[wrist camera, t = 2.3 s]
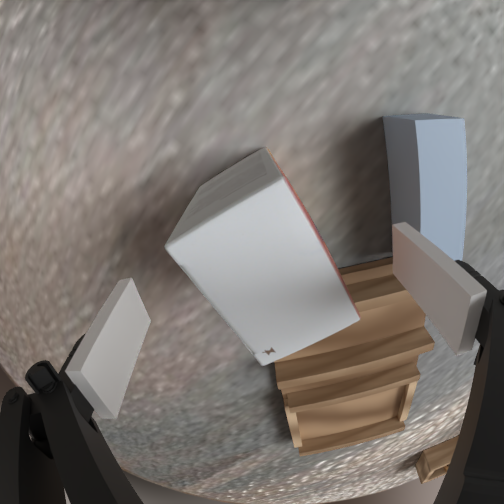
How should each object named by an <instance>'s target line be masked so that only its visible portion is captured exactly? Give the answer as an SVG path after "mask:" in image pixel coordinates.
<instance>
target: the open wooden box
mask: <svg viewBox="0 0 504 504" xmlns="http://www.w3.org/2000/svg"><path fill="white" fill-rule="evenodd" d="M458 438H459V435H458V436H456V437H454V438H452V439H450V440H447V441H445V442H443V443H440V444H438V445H436V446H433V447H431V448H428V449H426V450H423V452H422V454H421V456H420V458H419V460H418V461H417V463H416V465H415V467H416V470H417V473H418V476H419V479H420V481H421V484H423V483H425V482H428V481H431V480H433V479H435V478H438V477H440V476H442V475H445V474H446V472H445V470H444V468H443V467H444V466H446V465H448V464H450V462H451V459H452V456H453V453H454V450H455V447H456V444H457V441H458Z"/></svg>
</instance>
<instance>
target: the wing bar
mask: <svg viewBox="0 0 504 504" xmlns="http://www.w3.org/2000/svg"><path fill="white" fill-rule="evenodd" d="M382 118H383V125H384V132H385V140H386V149H387V159H388V169H389V182H390V197H391V218H392V224H397V223H402V222H406V223H408V224H409V225H410V226H412V227H413V228H414V229H415V230H417V231H418V232H419V233H421V234H422V235H423V236H424V237H426V238H427V239H428V240H429V241H431V242H432V243H433V244H434V245H436V246H437V247H438V248H439V249H441V250H442V251H443V252H444V253H445V254H447V255H448V256H449V257H450V258H451V259H453V260H454V261H455V260H460V261H462V256H463V247H464V236H465V223H466V204H467V153H466V135H465V122H464V118H458V117H451V116H443V115H435V114H408V115H393V116H382ZM392 252H393V232H392Z"/></svg>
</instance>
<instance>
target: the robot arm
mask: <svg viewBox="0 0 504 504" xmlns="http://www.w3.org/2000/svg"><path fill="white" fill-rule="evenodd" d="M392 232H393V274H394V275H395V277H396V278H397V279H398V280H399V281H400V283H401V284H402V285H403V286H404V287H405V289H406V290H407V291H408V292H409V294H410V295H411V296H412V297H413V299H414V300H415V301H416V302H417V304H418V305H419V306H420V308H421V309H422V310H423V311H424V313H425V314H426V315H427V317H428V318H429V319H430V321H431V322H432V323H433V325H434V326H435V327H436V329H437V330H438V331H439V333H440V334H441V335H442V337H443V338H444V339H445V341H446V342H447V343H448V345H449V346H450V348H451V349H452V350H453V352H454V353H455V355H456V356H459V355H461V354H463V353H466V352H468V351H470V350H472V347H473V344H474V341H475V338H476V339H477V340H478V342H479V343H480V347H479V350H478V353H477V356H476V359H475V361H474V364H473V365H476V367H475V373H474V378H473V383H472V388H471V392H470V397H469V401H468V405H467V409H466V413H465V417H464V421H463V424H462V428H461V431H460V435H459V438H458V441H457V444H456V447H455V450H454V453H453V456H452V459H451V462H450V465H449V467H448V470H447V473H446V475H445V478H444V480H443V483H442V485H441V488H440V490H439V492H438V495H437V497H436V499H435V501H434V504H504V290H500V291H499V290H497V289H496V288H495V287H494V286H493V285H492V284H491V283H490V282H488V281H487V280H486V279H485V278H484V277H483V276H481V274H479V273H478V272H477V271H475V269H473V268H472V267H471V266H470V265H469V264H467V263H465V262H463V261H460V260H455V261H454V260H453V259H451V258H450V257H449V256H448V255H447V254H445V253H444V252H443V251H442V250H441V249H439V248H438V247H437V246H436V245H434V244H433V243H432V242H431V241H429V240H428V239H427V238H426V237H424V236H423V235H422V234H421V233H419V232H418V231H417V230H415V229H414V228H413V227H412V226H410V225H409V224H408V223H406V222H402V223H397V224H392ZM150 322H151V320H150V318H149V316H148V314H147V311H146V309H145V307H144V305H143V302H142V300H141V298H140V295H139V293H138V291H137V288H136V286H135V284H134V281H133V279H132V278H127V279H122V280H119V281H118V283H117V284H116V286H115V287H114V289H113V290H112V292H111V294H110V295H109V297H108V298H107V300H106V302H105V303H104V305H103V306H102V308H101V310H100V311H99V313H98V314H97V316H96V318H95V319H94V321H93V323H92V324H91V326H90V328H89V329H88V331H87V333H86V334H84V335H83V336H82V337H81V338H80V339H79V340H78V341H77V342H76V344H75V345H74V347H73V349H72V351H71V352H70V354H69V357H67V359H66V361H65V363H64V365H63V366H62V368H61V370H60V372H59V374H58V373H57V372H56V371H55V369H54V368H53V366H52V365H51V363H50V362H49V361H46V360H44V361H40V362H38V363H36V364H34V365H33V366H32V367H31V368H30V369H29V370H28V371H27V373H26V376H25V380H26V381H27V382H28V384H29V385H30V386H31V388H32V389H33V390H34V391H35V393H33V394H29V395H27V393H26V392H25V391H24V390H23V388H22V387H15V388H13V389H10V390H9V391H8V392H7V393H6V395H5V396H4V398H3V401H2V406H1V412H0V504H66V499H65V492H64V488H65V491H66V493H67V495H68V498H69V500H70V503H71V504H143V502H142V501H141V499H140V498H139V496H138V495H137V493H136V492H135V490H134V489H133V487H132V486H131V484H130V482H129V481H128V479H127V478H126V476H125V474H124V473H123V471H122V469H121V468H120V466H119V464H118V463H117V461H116V459H115V457H114V456H113V454H112V452H111V450H110V448H109V447H108V445H107V443H106V441H105V439H104V437H103V435H102V433H101V431H100V429H99V427H98V425H97V423H96V421H95V420H94V419H93V418H92V417H91V416H92V413H93V411H94V410H95V411H96V413H97V414H98V415H99V416H100V417H101V418H103V419H117V416H118V413H119V410H120V407H121V404H122V401H123V398H124V395H125V392H126V389H127V386H128V383H129V380H130V377H131V374H132V371H133V368H134V366H135V363H136V360H137V357H138V354H139V352H140V349H141V346H142V343H143V341H144V338H145V335H146V333H147V330H148V327H149V325H150ZM29 435H30V436H31V437H32V438H31V439H32V440H31V439H30V437H29Z"/></svg>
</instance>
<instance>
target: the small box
mask: <svg viewBox="0 0 504 504" xmlns="http://www.w3.org/2000/svg"><path fill="white" fill-rule="evenodd" d="M165 250H166V251H167V252H168V254H169V255H170V256H171V257H172V258H173V259H174V260H175V262H176V263H177V264H178V265H179V266H180V267H181V268H182V270H183V271H184V272H185V273H186V274H187V276H188V277H189V278H190V279H191V280H192V282H193V283H194V284H195V285H196V287H197V288H198V289H199V290H200V292H201V293H202V294H203V295H204V296H205V298H206V299H207V300H208V301H209V302H210V304H211V305H212V306H213V307H214V308H215V310H216V311H217V312H218V313H219V314H220V316H221V317H222V318H223V319H224V320H225V322H226V323H227V324H228V325H229V326H230V328H231V329H232V330H233V331H234V332H235V333H236V335H237V336H238V337H239V338H240V339H241V341H242V342H243V343H244V344H245V346H246V347H247V348H248V349H249V350H250V352H251V353H252V355H253V356H254V357H255V358H256V360H257V361H258V362H259V364H260V365H261V366H264V365H267V364H269V363H272V362H274V361H276V360H279V359H281V358H283V357H286V356H288V355H290V354H292V353H295V352H297V351H299V350H301V349H303V348H305V347H307V346H310V345H312V344H314V343H316V342H318V341H320V340H322V339H324V338H326V337H328V336H330V335H332V334H334V333H336V332H338V331H340V330H342V329H344V328H346V327H348V326H350V325H351V324H353V323H355V322H357V321H359V320H360V319H361V316H360V314H359V312H358V310H357V307H356V305H355V303H354V301H353V299H352V297H351V295H350V292H349V290H348V288H347V286H346V284H345V282H344V280H343V278H342V276H341V274H340V272H339V270H338V268H337V266H336V264H335V262H334V260H333V258H332V256H331V254H330V252H329V250H328V248H327V246H326V244H325V242H324V241H323V239H322V237H321V235H320V233H319V231H318V230H317V228H316V226H315V224H314V222H313V221H312V219H311V217H310V215H309V214H308V212H307V210H306V209H305V207H304V205H303V204H302V202H301V200H300V199H299V197H298V195H297V194H296V192H295V191H294V189H293V187H292V186H291V184H290V183H289V181H288V180H287V178H286V176H285V175H284V173H283V172H282V170H281V169H280V167H279V166H278V164H277V163H276V161H275V159H274V158H273V156H272V154H271V153H270V151H269V150H268V148H267V147H264V148H262V149H260V150H258V151H256V152H255V153H253V154H251V155H249V156H248V157H246V158H244V159H243V160H241V161H239V162H238V163H236V164H234V165H233V166H231V167H229V168H228V169H226V170H225V171H223V172H221V173H220V174H218V175H217V176H215V177H213V178H212V179H210V180H209V181H207V182H206V183H204V184H203V185H201V186H200V187H199V189H198V190H197V192H196V194H195V195H194V197H193V198H192V200H191V202H190V203H189V205H188V206H187V208H186V210H185V212H184V213H183V215H182V217H181V218H180V220H179V222H178V223H177V225H176V227H175V228H174V230H173V232H172V234H171V235H170V237H169V239H168V240H167V242H166V244H165Z"/></svg>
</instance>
